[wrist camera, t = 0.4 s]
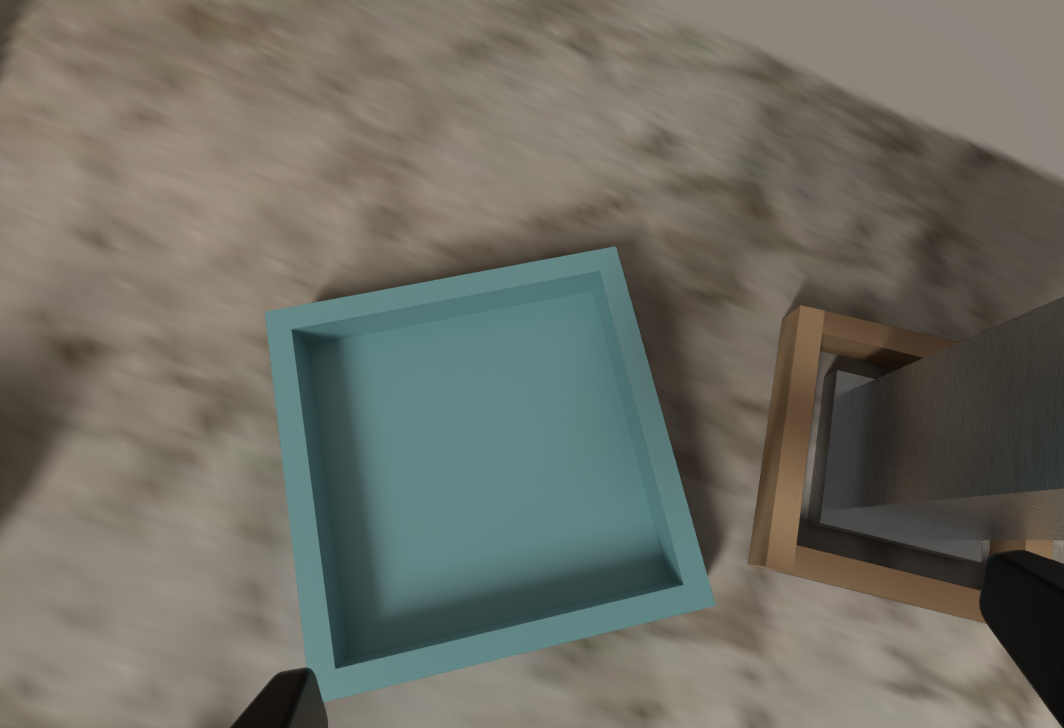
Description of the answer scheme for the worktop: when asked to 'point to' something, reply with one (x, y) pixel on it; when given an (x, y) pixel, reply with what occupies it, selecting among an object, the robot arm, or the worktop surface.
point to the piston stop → (950, 444)
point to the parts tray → (476, 471)
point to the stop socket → (788, 457)
